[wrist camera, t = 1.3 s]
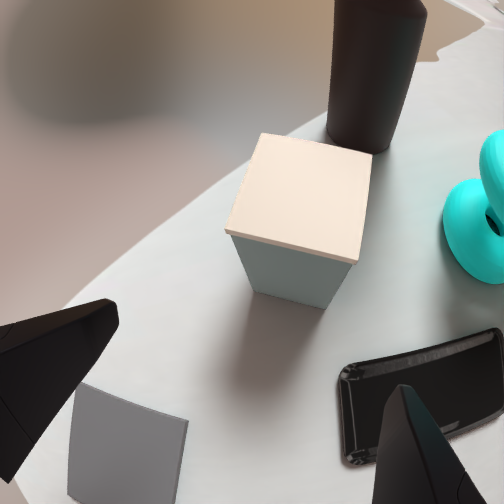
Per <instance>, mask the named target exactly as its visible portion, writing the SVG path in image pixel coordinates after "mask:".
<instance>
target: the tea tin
mask: <svg viewBox="0 0 504 504" xmlns="http://www.w3.org/2000/svg"><path fill="white" fill-rule="evenodd" d="M371 163H372V155H371V154H367V153H363V152H359V151H355V150H350V149H346V148H341V147H337V146H332V145H328V144H323V143H318V142H313V141H308V140H302V139H297V138H291V137H285V136H279V135H272V134H266V133H261V136H260V138H259V141H258V143H257V146H256V148H255V151H254V153H253V156H252V158H251V161H250V163H249V166H248V168H247V171H246V173H245V176H244V178H243V181H242V184H241V186H240V189H239V191H238V194H237V197H236V199H235V202H234V204H233V207H232V210H231V212H230V215H229V217H228V220H227V223H226V225H225V228H224V229H225V231H226V234H230V235H231V237H232V240H233V242H234V245H235V247H236V250H237V252H238V255H239V257H240V259H241V262H242V264H243V267H244V269H245V272H246V274H247V276H248V279H249V281H250V284H251V286H252V288H253V291H255V292H259V293H263V294H267V295H270V296H274V297H278V298H282V299H286V300H290V301H293V302H297V303H301V304H305V305H309V306H313V307H317V308H321V309H325V310H326V308H327V307H328V305H329V303H330V302H331V300H332V298H333V297H334V295H335V293H336V292H337V290H338V288H339V287H340V285H341V283H342V282H343V280H344V278H345V276H346V275H347V273H348V271H349V269H350V268H351V266H352V264H355V265H356V263H357V261H358V258H359V253H360V247H361V241H362V234H363V228H364V221H365V214H366V207H367V199H368V191H369V182H370V173H371Z"/></svg>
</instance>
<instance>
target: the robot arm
mask: <svg viewBox="0 0 504 504" xmlns="http://www.w3.org/2000/svg"><path fill="white" fill-rule="evenodd" d="M118 326H119V317H118V310H117V305H116V303H115V302H114V301H111V300H109V299H106V298H104V299H100V300H97V301H93V302H89V303H86V304H82V305H78V306H75V307H71V308H67V309H64V310H60V311H56V312H53V313H49V314H45V315H41V316H38V317H34V318H30V319H27V320H23V321H19V322H16V323H12V324H8V325H4V326H0V478H2V479H3V480H4V481H5V482H6V483H8V484H9V482H10V481H11V480H12V478H13V477H14V475H15V474H16V472H17V471H18V469H19V468H20V466H21V465H22V463H23V462H24V460H25V459H26V457H27V456H28V454H29V453H30V452H31V450H32V449H33V447H34V446H35V444H36V443H37V441H38V440H39V438H40V437H41V435H42V434H43V433H44V431H45V430H46V428H47V427H48V426H49V424H50V423H51V421H52V420H53V419H54V417H55V416H56V415H57V413H58V412H59V410H60V409H61V408H62V406H63V405H64V404H65V402H66V401H67V400H68V398H69V397H70V396H71V394H72V393H73V392H74V390H75V389H76V388H77V386H78V385H79V384H80V382H81V381H82V380H83V378H84V377H85V376H86V375H87V373H88V372H89V371H90V369H91V368H92V367H93V366H94V364H95V363H96V361H97V360H98V358H99V357H100V355H101V354H102V352H103V351H104V349H105V347H106V346H107V344H108V343H109V341H110V339H111V338H112V336H113V335H114V333H115V332H116V330H117V328H118ZM372 504H487V503H486V501H485V500H484V498H483V497H482V496H481V494H480V493H479V491H478V490H477V488H476V486H475V485H474V483H473V482H472V480H471V478H470V477H469V475H468V473H467V472H466V471H465V468H464V467H463V465H462V463H461V462H460V460H459V458H458V457H457V455H456V454H455V452H454V450H453V449H452V447H451V446H450V444H449V442H448V441H447V439H446V438H445V436H444V435H443V433H442V431H441V430H440V428H439V427H438V425H437V424H436V422H435V421H434V419H433V418H432V416H431V414H430V413H429V411H428V410H427V408H426V407H425V405H424V404H423V402H422V401H421V399H420V398H419V397H418V395H417V394H416V392H415V391H414V389H413V388H412V387H411V386H407V385H398V386H397V387H396V388H395V390H394V391H393V393H392V395H391V396H390V398H389V399H388V401H387V402H386V405H385V408H384V415H383V422H382V428H381V434H380V439H379V445H378V451H377V461H376V472H375V482H374V491H373V499H372Z"/></svg>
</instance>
